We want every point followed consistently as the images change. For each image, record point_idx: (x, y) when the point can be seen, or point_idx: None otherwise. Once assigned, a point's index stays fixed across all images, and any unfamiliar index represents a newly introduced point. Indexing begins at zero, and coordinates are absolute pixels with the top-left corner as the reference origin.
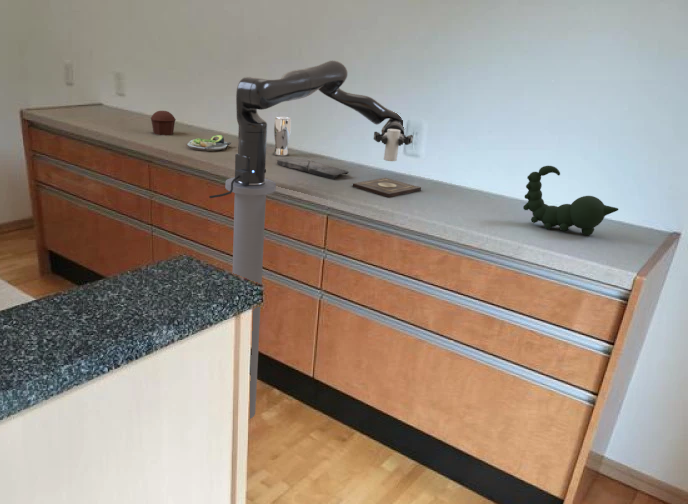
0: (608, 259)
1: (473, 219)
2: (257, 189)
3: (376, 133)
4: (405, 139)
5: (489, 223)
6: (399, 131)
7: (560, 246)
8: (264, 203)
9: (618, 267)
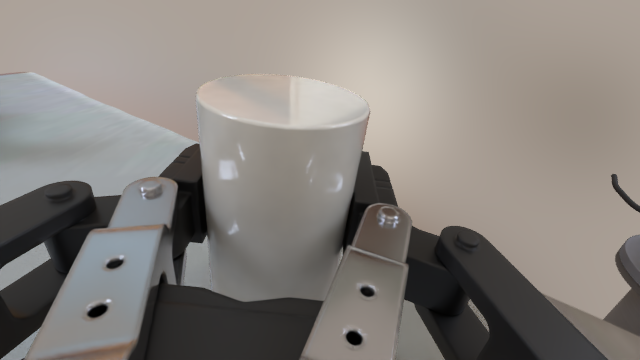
0: (9, 85)
1: (95, 163)
2: (630, 237)
3: (552, 307)
4: (113, 200)
5: (74, 151)
6: (228, 80)
7: (36, 102)
8: (633, 314)
9: (29, 77)
